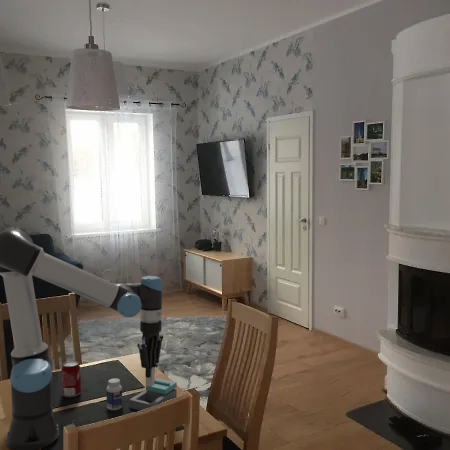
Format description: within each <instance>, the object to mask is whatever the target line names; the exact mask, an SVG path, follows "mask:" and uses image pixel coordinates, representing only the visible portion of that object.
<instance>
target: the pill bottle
mask: <svg viewBox="0 0 450 450" xmlns="http://www.w3.org/2000/svg"><path fill="white" fill-rule="evenodd" d="M107 383H108V384H107V386H106V408H107V410H111V411H117V410H120V409H121V408H122V407H123V387H122V384H121V380H120V379H119V378H111V379H109V380H108V382H107Z"/></svg>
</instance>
